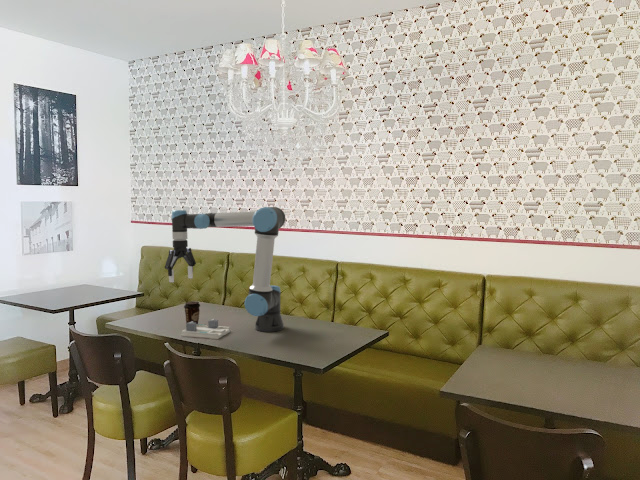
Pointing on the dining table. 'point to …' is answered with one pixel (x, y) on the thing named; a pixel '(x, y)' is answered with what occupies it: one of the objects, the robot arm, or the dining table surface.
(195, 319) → the coffee cup
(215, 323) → the tab
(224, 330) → the switch bank
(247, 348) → the dining table surface
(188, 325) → the tab
